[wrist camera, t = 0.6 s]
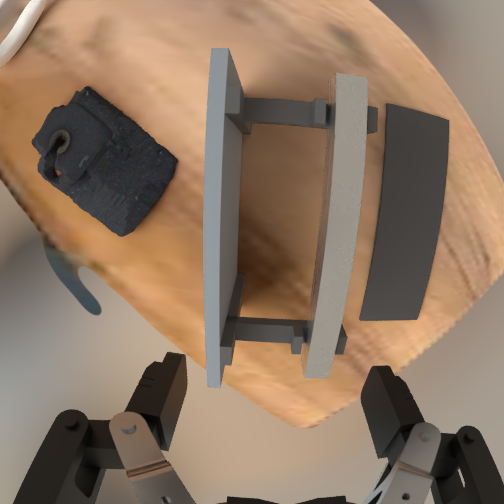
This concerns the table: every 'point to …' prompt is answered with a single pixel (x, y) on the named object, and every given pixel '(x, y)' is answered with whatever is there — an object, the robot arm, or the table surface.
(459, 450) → the robot arm
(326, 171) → the rail
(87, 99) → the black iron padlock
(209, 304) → the rail stand
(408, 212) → the mat
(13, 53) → the banana
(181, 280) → the table surface
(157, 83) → the table surface
